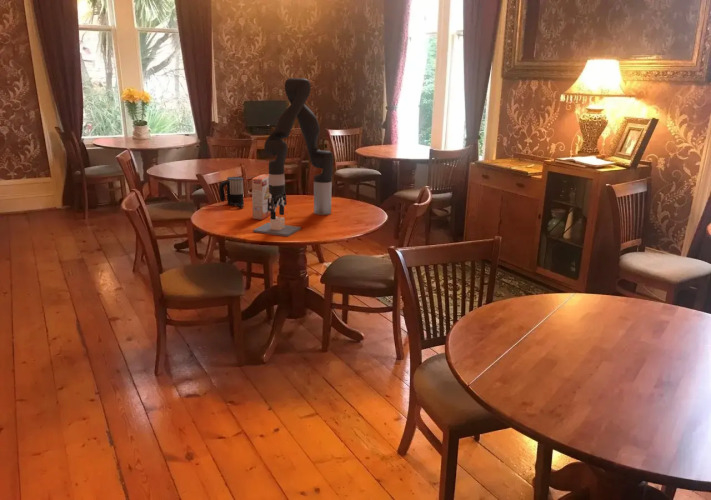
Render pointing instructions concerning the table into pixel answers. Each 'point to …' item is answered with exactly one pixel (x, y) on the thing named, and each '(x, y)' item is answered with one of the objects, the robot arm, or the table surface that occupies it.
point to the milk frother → (233, 191)
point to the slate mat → (283, 232)
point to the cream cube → (277, 223)
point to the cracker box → (260, 197)
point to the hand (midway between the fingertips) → (277, 217)
